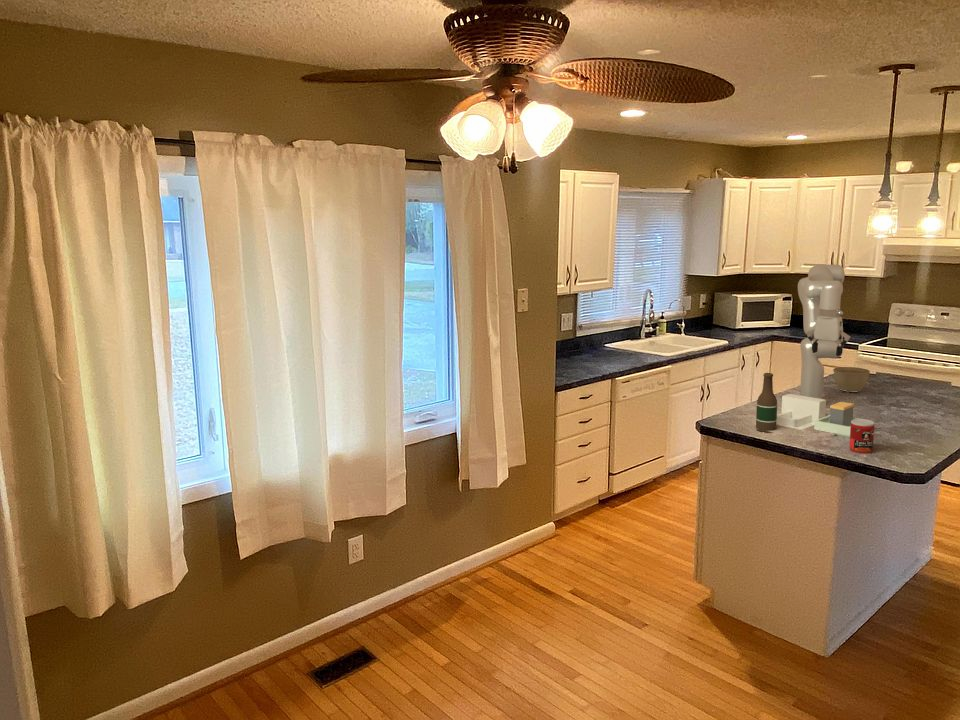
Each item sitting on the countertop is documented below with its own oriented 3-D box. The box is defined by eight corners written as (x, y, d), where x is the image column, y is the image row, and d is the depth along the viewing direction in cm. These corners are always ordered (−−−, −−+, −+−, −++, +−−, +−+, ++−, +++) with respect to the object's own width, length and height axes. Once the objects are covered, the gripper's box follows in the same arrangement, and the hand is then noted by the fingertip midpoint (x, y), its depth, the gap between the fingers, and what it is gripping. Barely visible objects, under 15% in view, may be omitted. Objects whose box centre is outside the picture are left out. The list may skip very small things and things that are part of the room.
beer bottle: (780, 431, 280) (783, 373, 276) (767, 434, 276) (770, 376, 272) (764, 426, 287) (766, 370, 283) (751, 430, 283) (753, 373, 279)
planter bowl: (825, 390, 348) (826, 369, 346) (845, 386, 355) (846, 365, 354) (855, 396, 334) (856, 374, 332) (875, 391, 341) (877, 370, 340)
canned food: (853, 453, 250) (855, 424, 248) (845, 446, 258) (847, 418, 256) (876, 454, 249) (878, 424, 247) (867, 447, 256) (869, 418, 255)
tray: (832, 424, 288) (832, 413, 287) (867, 430, 277) (868, 419, 277) (813, 431, 278) (814, 420, 277) (849, 438, 267) (850, 427, 267)
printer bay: (788, 415, 303) (789, 393, 301) (824, 422, 290) (826, 399, 289) (764, 424, 290) (765, 401, 289) (801, 432, 278) (803, 408, 276)
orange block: (839, 425, 282) (840, 401, 281) (852, 427, 278) (854, 403, 277) (828, 429, 277) (830, 405, 275) (842, 432, 273) (843, 407, 271)
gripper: (855, 313, 277) (852, 355, 281) (812, 310, 290) (809, 349, 294) (847, 316, 273) (844, 358, 276) (804, 312, 286) (801, 352, 289)
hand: (826, 353), depth 285 cm, fingers open, 9 cm apart
